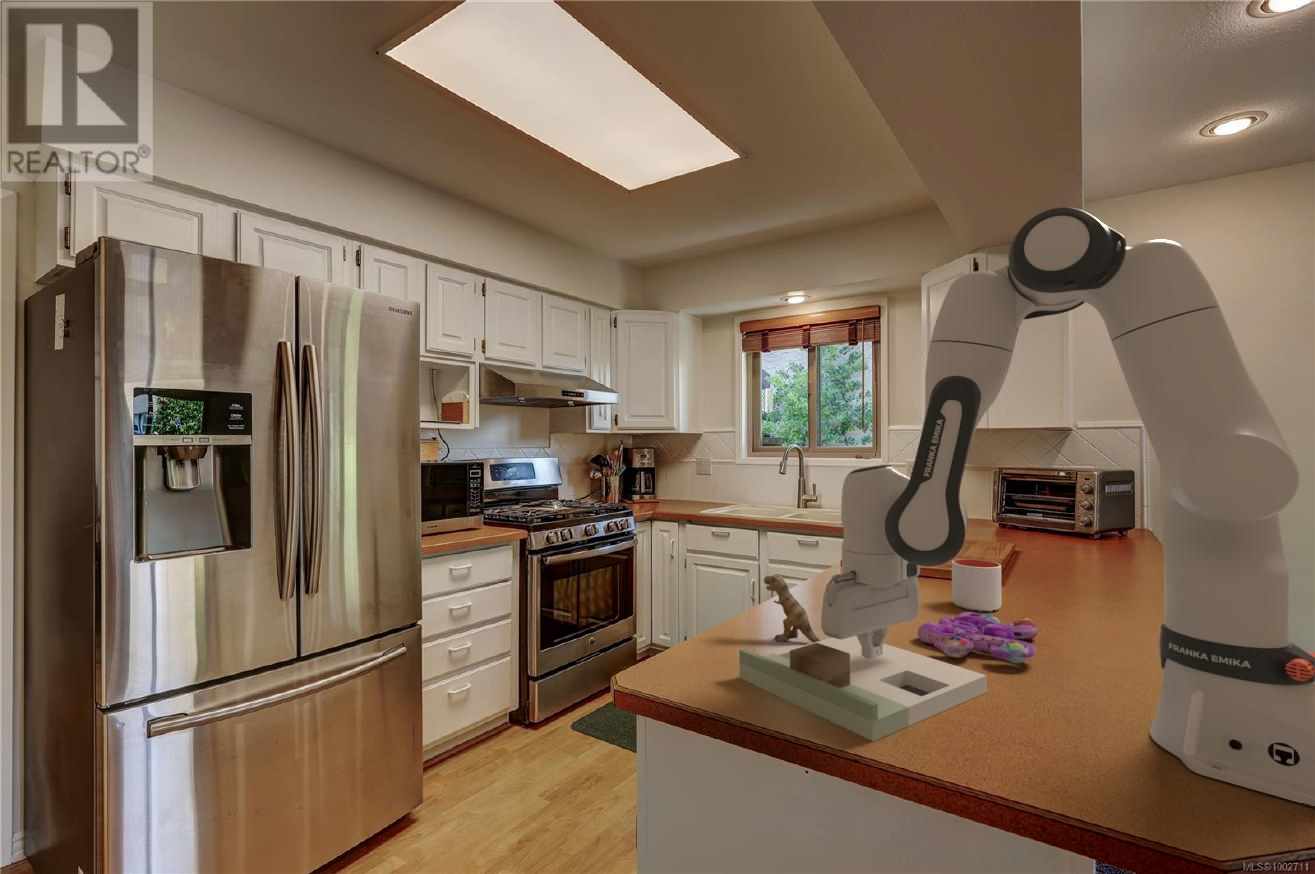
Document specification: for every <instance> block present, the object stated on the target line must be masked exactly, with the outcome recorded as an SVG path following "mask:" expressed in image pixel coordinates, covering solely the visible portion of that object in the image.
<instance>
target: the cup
mask: <svg viewBox="0 0 1315 874" xmlns="http://www.w3.org/2000/svg"><path fill="white" fill-rule="evenodd" d="M951 601H952V602H953V604H954V605H956V606H957V607H958V606H959V607H958V608H960V607H962V608H961V609H963V608H965V609H964V610H967V609H969V610H968V611H972V610H979V611H978V612H982V611H988V612H994V611H993V610H995V611H997V610H999V609H1000V608H1001V607H1002V565H1001V564H1000V563H997V562H993V561H990V560H981V559H973V558H972V559H971V558H970V559H967V558H963V559H960V558H959V559H954V560H951Z"/></svg>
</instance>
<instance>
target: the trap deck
mask: <svg viewBox="0 0 1315 874" xmlns="http://www.w3.org/2000/svg"><path fill="white" fill-rule="evenodd" d="M814 643H819V644H822V645H825V646H828V647H831V648H835V649H838V650H841V651H844V652H847V653H850V685H848V686H845V687H843V688H838V687H836V686H833V685H831V684H828V683H826V682H824V681H821V680H819V679H816V678H814V677H811V676H809V675H807V674H804V673H802V672H799V671H797V670H794V669H792V668H790V650H794V649H797V648H800V647H804V646H807V645H810V644H814ZM814 643H813V642H811V643H807V644H803V645H801V646H796V647H793V648H789V649H785V650H781V651H778V652H774V653H771V654H766V655H760V654H758V653H756V652H753V651H750V650H749V649H748V650H747V649H746V648H743V649H739V653H738V654H739V655H738V656H739V666H738V667H739V669H738V670H739V679H740V680H743V681H745V682H746V683H748V684H750V683H751V685H752V686H755V687H757V688H759V689H761V690H763V691H765V692H767V693H769V694H771V693H772V695H774V696H775V697H778V698H780V699H783V700H784V701H786V702H789V703H790V704H793V705H795V706H797V707H799V708H801V709H803V710H806V711H808V713H811V714H814V715H815V716H818V717H820V718H822V719H824V720H827V721H828V722H830V723H832V724H834V725H837V726H839V727H841V728H843V729H845V730H848V731H850V732H852V733H853V734H856V735H858V736H861V737H862V738H864V739H867V740H868V741H870V742H875V741H878V740H881V739H883V738H884V737H887V736H889V735H892V734H894V733H897V732H898V731H901V730H903V729H905V728H909V727H910V726H912V725H914V724H918V723H919V722H921V721H923V720H926V719H929V718H931V717H933V716H936V715H938V714H941V713H942V712H944V711H947V710H949V709H951V708H954V707H955V706H958V705H961V704H963V703H965V702H967V701H970V700H973V699H974V698H977V697H979V696H981V695H984V694H986V693H987V692H988V690H987V689H988V683H987V680H988V679H987V676H988V675H986V674H984V673H981V672H977V671H974V670H970V669H967V668H965V667H964V668H963V667H961V666H957V665H954V664H951V663H949V662H944V661H941V660H938V659H935V658H932V657H928V656H926V655H923V654H920V653H919V654H918V653H915V652H913V651H909V650H906V649H903V648H899V647H897V646H893V645H889V644H886V643H885V642H884V643H883V654H882V655H880V656H877V657H874V658H871V659H868V658H865V657H863V656H862V645H861V644H860V642H859V640H858V638H857V636H853V637H849V638H846V639H842V640H840V639H836V638H833V637H830V638H825V639H822V640H821V641H818V642H814Z"/></svg>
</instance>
